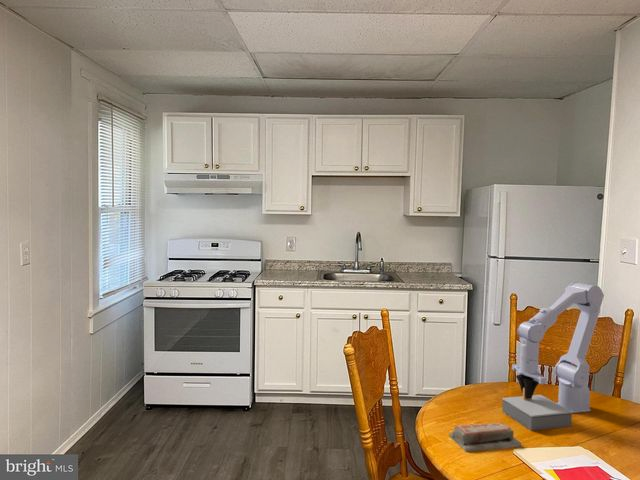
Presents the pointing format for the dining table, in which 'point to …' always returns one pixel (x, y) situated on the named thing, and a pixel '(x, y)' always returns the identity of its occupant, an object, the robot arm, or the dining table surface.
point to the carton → (537, 419)
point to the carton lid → (536, 405)
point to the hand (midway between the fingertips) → (527, 397)
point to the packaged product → (484, 437)
